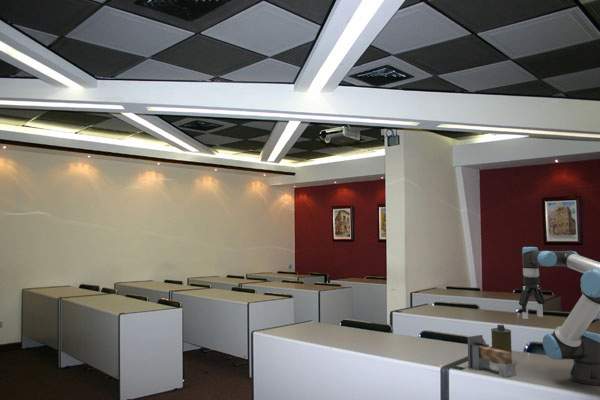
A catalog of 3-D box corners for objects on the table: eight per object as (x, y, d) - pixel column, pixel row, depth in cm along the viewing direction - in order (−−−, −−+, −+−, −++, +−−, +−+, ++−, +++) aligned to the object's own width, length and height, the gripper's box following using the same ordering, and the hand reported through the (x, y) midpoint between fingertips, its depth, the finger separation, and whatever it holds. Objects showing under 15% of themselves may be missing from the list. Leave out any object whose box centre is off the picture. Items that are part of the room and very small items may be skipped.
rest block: (516, 374, 231) (515, 362, 231) (506, 377, 226) (506, 364, 227) (508, 373, 234) (508, 360, 234) (499, 375, 230) (498, 362, 230)
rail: (511, 362, 231) (511, 352, 232) (505, 363, 228) (505, 353, 229) (480, 355, 246) (480, 345, 247) (474, 356, 243) (474, 346, 244)
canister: (514, 364, 250) (513, 326, 252) (494, 363, 252) (492, 326, 254) (509, 359, 261) (508, 323, 263) (490, 358, 263) (488, 322, 265)
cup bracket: (491, 367, 244) (490, 336, 245) (477, 370, 238) (476, 338, 239) (481, 365, 249) (480, 334, 250) (468, 368, 243) (467, 336, 244)
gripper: (537, 275, 253) (539, 314, 251) (510, 276, 240) (512, 318, 238) (551, 276, 247) (552, 316, 245) (524, 277, 234) (526, 320, 232)
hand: (532, 317), depth 241 cm, fingers open, 13 cm apart
